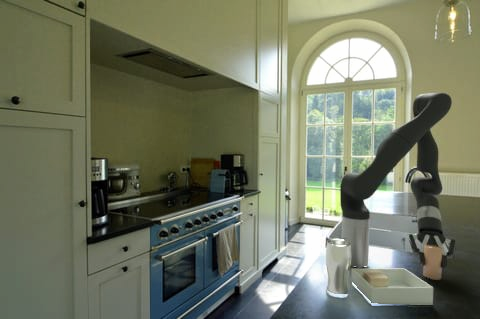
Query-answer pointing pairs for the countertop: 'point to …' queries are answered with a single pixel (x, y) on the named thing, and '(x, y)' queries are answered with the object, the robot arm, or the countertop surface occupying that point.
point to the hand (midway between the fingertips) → (433, 266)
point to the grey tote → (395, 287)
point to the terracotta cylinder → (432, 261)
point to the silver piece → (338, 265)
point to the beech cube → (375, 278)
